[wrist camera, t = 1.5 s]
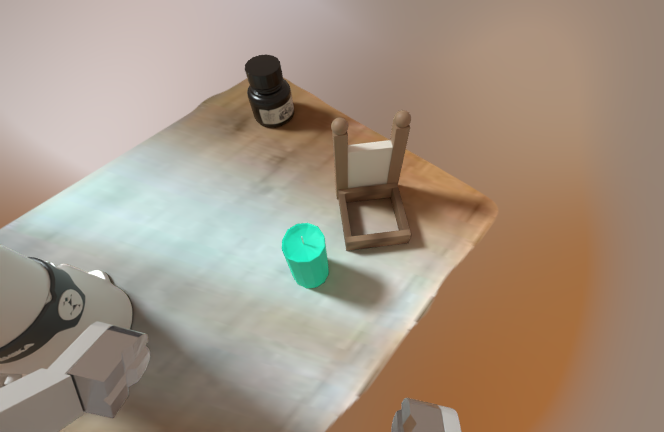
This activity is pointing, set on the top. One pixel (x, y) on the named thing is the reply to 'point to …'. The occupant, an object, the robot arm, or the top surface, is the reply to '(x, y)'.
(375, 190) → the shallow open wooden box
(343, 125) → the headboard
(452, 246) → the top surface
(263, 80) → the ink bottle
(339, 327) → the top surface
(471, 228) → the top surface
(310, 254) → the candle
